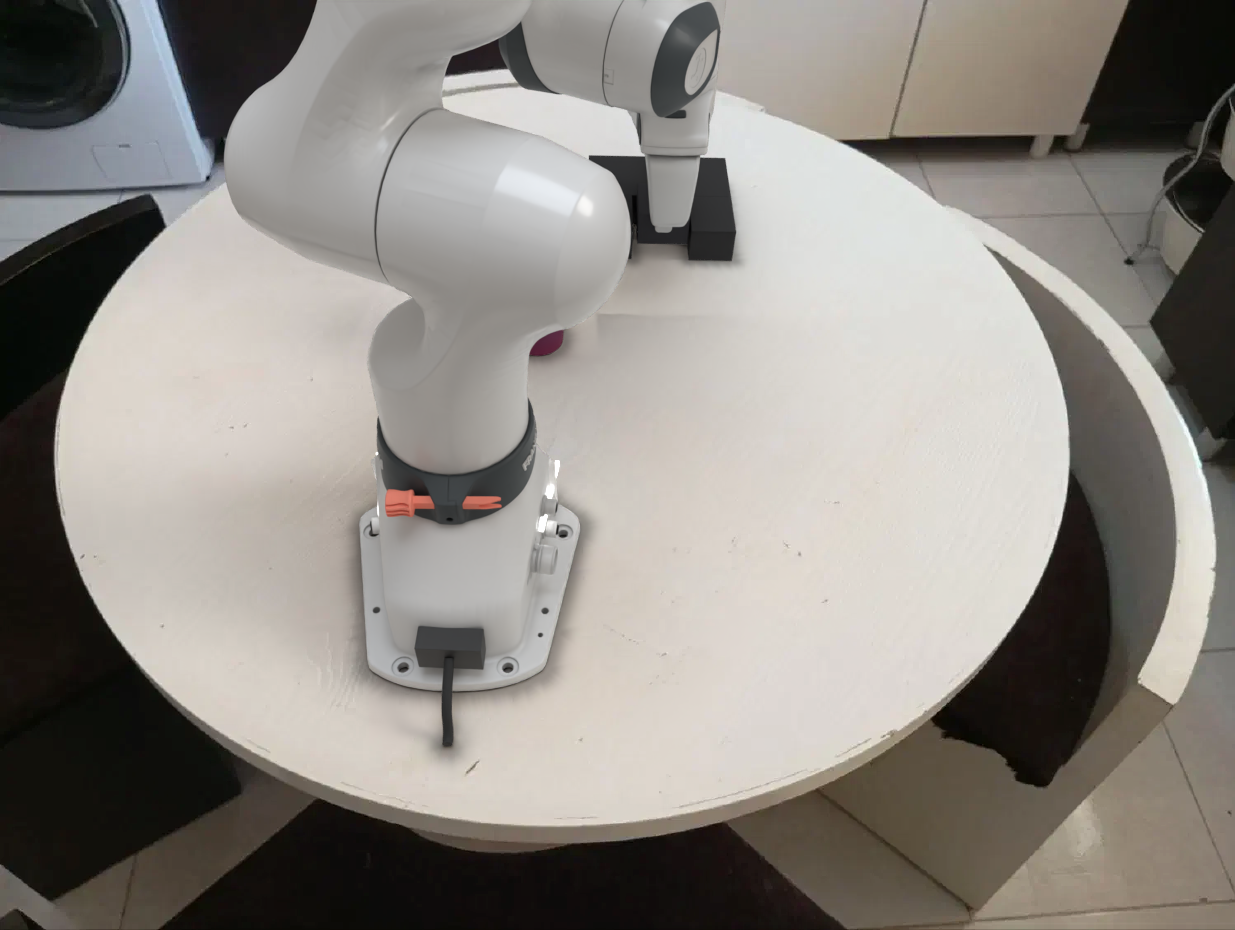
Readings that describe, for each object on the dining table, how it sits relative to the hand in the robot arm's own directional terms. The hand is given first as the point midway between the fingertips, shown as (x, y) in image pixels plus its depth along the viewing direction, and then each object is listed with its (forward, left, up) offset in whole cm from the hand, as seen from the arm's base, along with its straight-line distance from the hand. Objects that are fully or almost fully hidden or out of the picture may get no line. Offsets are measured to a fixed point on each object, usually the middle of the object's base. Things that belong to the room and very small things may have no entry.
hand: (661, 209), depth 109 cm
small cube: (0, 0, -3) cm, 3 cm away
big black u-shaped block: (+4, 0, -4) cm, 6 cm away
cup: (-16, +13, -5) cm, 21 cm away
